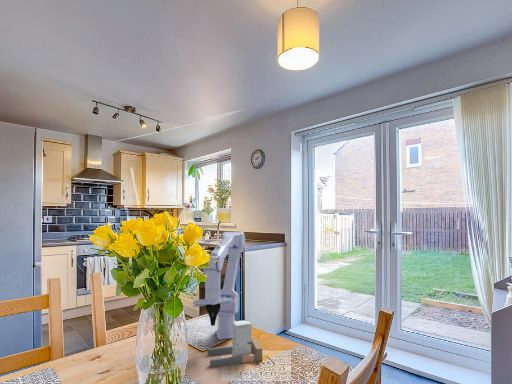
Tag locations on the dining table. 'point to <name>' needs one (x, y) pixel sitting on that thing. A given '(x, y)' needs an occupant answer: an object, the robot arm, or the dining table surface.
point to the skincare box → (241, 338)
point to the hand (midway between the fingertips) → (212, 324)
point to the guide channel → (255, 356)
